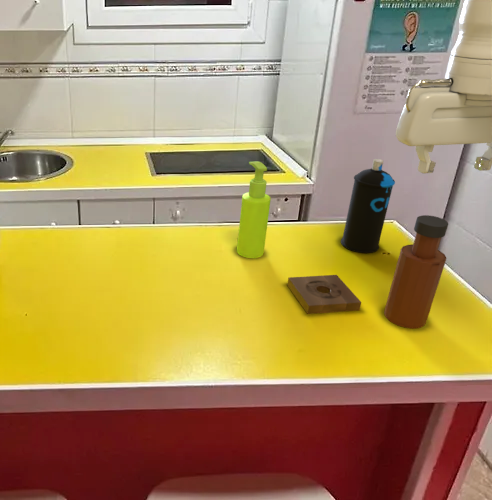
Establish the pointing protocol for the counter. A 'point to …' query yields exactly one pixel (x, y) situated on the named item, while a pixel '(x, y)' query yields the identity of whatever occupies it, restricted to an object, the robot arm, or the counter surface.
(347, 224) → the aerosol can
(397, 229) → the counter surface
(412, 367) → the counter surface
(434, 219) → the cylinder
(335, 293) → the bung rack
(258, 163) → the soap dispenser
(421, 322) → the bottle
